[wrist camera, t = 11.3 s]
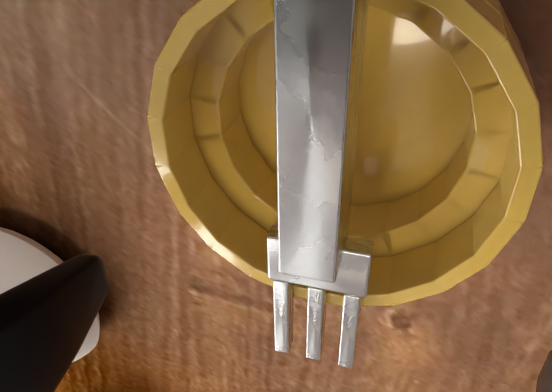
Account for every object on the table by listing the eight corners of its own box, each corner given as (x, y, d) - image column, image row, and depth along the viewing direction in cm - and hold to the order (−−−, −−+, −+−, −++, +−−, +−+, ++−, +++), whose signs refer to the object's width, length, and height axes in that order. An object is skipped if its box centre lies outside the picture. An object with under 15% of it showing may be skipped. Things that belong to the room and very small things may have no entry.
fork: (262, -160, 11) (224, -161, 9) (426, -164, 10) (419, -164, 9) (275, 334, 21) (257, 382, 19) (360, 354, 20) (350, 406, 18)
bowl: (572, -68, 15) (614, -36, 11) (480, 247, 22) (485, 336, 18) (191, -77, 18) (115, -53, 14) (219, 203, 25) (173, 272, 21)
